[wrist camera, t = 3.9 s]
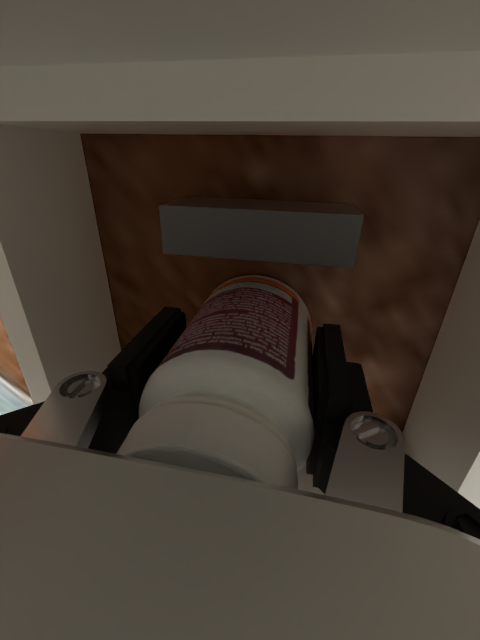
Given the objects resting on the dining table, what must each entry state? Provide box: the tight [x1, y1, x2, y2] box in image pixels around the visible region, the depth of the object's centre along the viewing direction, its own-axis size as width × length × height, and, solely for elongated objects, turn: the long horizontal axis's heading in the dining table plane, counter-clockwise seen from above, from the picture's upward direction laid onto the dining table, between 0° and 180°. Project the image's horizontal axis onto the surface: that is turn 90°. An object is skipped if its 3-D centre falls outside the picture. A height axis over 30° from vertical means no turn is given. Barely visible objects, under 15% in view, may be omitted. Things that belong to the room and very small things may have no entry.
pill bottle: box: [116, 275, 315, 489], centre depth 10 cm, size 5×5×8 cm
